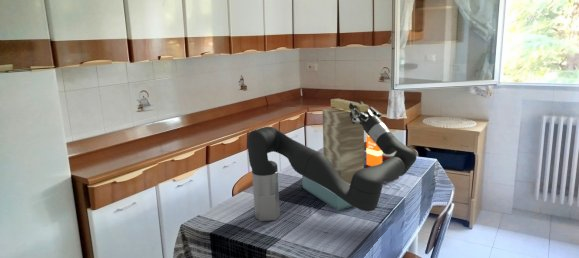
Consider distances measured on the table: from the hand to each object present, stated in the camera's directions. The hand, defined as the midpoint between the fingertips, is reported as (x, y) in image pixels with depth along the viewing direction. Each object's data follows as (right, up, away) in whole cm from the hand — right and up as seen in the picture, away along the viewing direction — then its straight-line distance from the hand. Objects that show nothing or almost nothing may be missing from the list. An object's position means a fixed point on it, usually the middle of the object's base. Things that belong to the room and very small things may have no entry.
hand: (355, 103), depth 170 cm
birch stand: (-2, -33, +16) cm, 37 cm away
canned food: (+19, -32, +19) cm, 42 cm away
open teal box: (-10, -38, 0) cm, 39 cm away
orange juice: (+17, -28, +36) cm, 49 cm away
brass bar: (-2, -2, +5) cm, 5 cm away
